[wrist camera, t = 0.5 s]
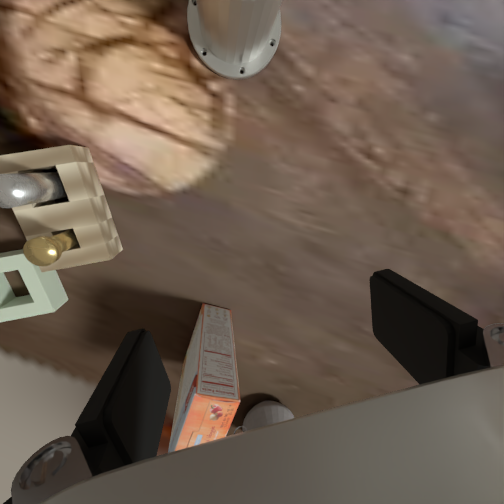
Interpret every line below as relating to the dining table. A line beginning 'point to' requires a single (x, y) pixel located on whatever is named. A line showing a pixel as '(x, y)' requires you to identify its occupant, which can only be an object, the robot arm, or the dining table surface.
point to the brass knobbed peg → (49, 247)
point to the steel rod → (30, 188)
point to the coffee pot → (265, 415)
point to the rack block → (38, 284)
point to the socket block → (67, 205)
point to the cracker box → (207, 382)
